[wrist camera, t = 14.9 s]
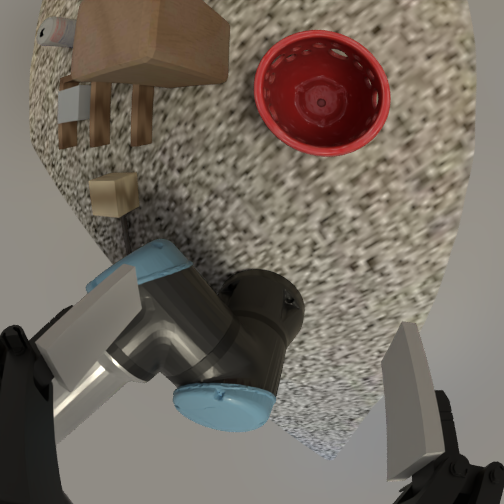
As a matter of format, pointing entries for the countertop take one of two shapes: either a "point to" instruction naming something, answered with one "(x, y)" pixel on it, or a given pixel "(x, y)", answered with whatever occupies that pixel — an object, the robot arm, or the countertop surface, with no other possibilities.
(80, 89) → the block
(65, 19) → the energy drink
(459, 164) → the countertop surface
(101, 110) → the lane rack
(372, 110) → the plant pot
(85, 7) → the wooden block
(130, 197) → the corded block
